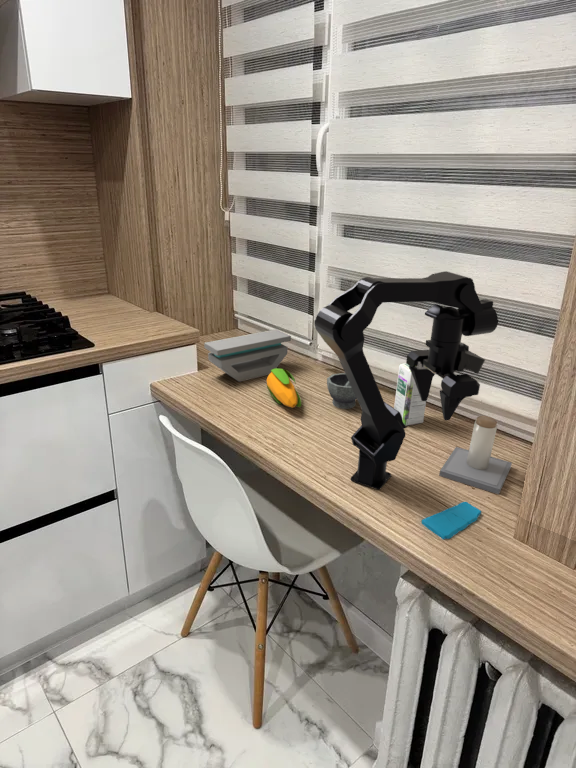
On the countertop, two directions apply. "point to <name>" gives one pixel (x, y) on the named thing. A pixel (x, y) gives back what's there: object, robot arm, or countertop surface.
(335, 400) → the mortar and pestle
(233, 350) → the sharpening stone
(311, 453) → the countertop surface
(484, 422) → the spice jar
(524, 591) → the countertop surface
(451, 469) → the slate trivet
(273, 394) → the corn
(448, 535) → the sponge
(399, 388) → the syrup box
